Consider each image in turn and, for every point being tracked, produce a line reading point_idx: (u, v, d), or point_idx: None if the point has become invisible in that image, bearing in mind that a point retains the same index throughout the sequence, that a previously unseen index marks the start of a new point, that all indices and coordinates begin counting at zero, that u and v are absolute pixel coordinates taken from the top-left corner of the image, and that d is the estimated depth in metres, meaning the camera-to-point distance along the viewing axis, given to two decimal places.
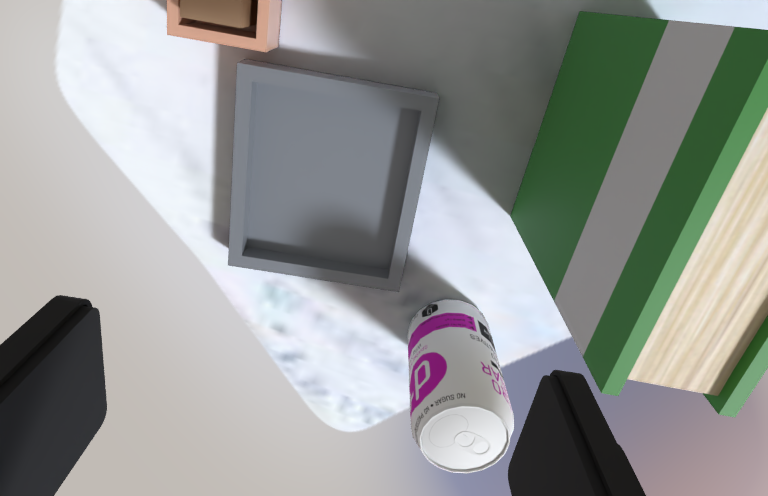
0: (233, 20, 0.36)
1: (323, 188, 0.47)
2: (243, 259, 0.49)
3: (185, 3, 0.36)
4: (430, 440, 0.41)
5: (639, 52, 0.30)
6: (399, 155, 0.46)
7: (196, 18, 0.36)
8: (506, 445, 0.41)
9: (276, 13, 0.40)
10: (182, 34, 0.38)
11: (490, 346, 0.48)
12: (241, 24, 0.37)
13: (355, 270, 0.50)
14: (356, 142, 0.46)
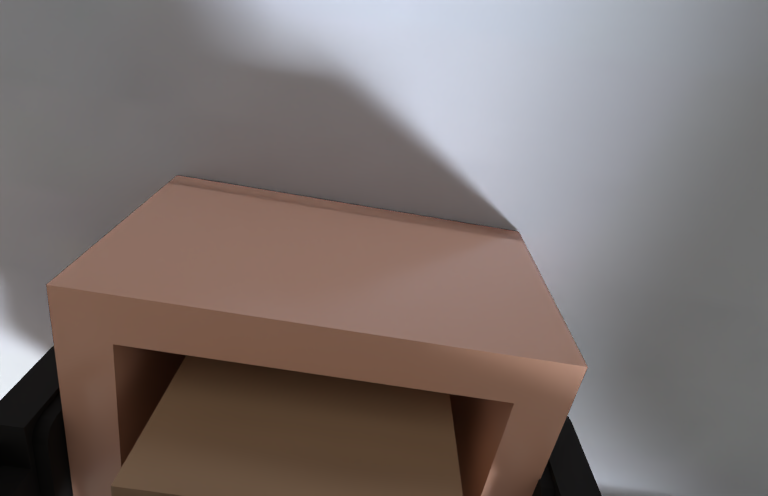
0: None
1: None
2: None
3: None
4: None
5: None
6: None
7: None
8: None
9: None
10: None
11: None
12: None
13: None
14: None
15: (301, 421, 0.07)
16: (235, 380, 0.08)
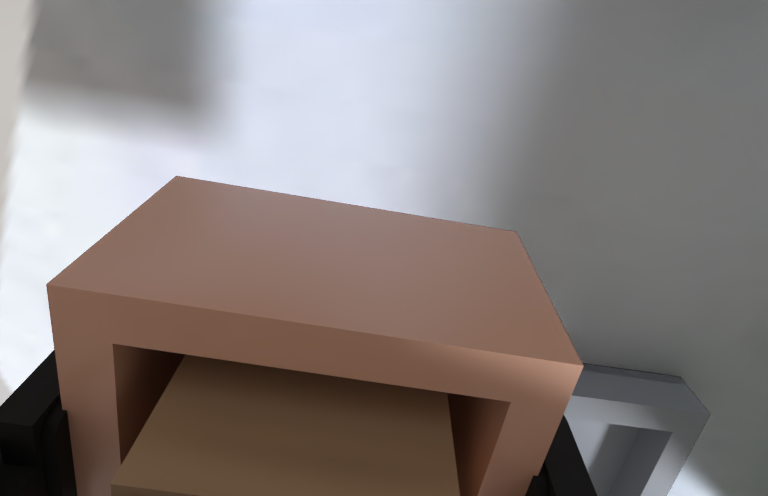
0: None
1: None
2: None
3: None
4: None
5: None
6: (600, 468, 0.26)
7: None
8: None
9: None
10: None
11: None
12: None
13: None
14: None
15: (299, 420, 0.07)
16: (234, 378, 0.08)
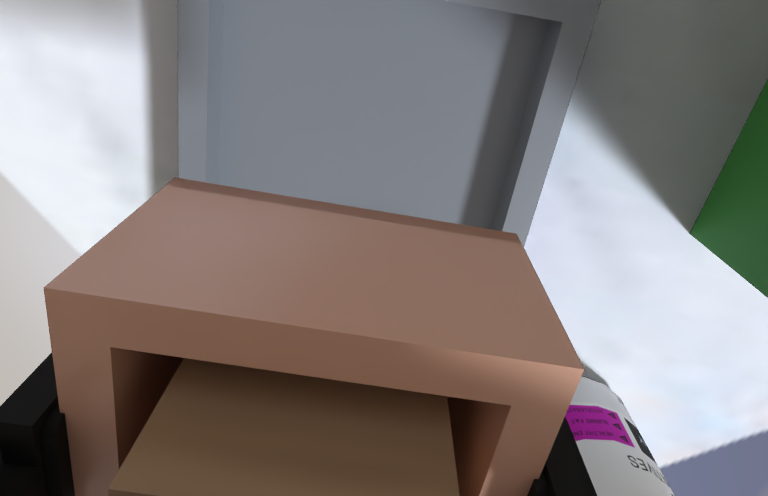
0: None
1: (352, 182, 0.26)
2: None
3: None
4: None
5: None
6: (499, 119, 0.24)
7: None
8: None
9: None
10: None
11: (662, 476, 0.26)
12: None
13: None
14: (419, 95, 0.24)
15: (298, 424, 0.07)
16: (232, 382, 0.08)
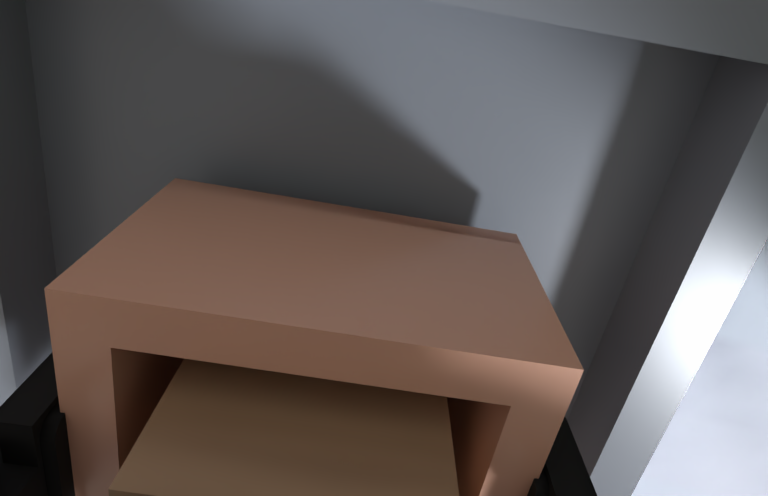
0: None
1: None
2: None
3: None
4: None
5: None
6: (596, 244, 0.12)
7: None
8: None
9: None
10: None
11: None
12: None
13: None
14: (440, 200, 0.12)
15: (298, 423, 0.07)
16: (232, 383, 0.08)
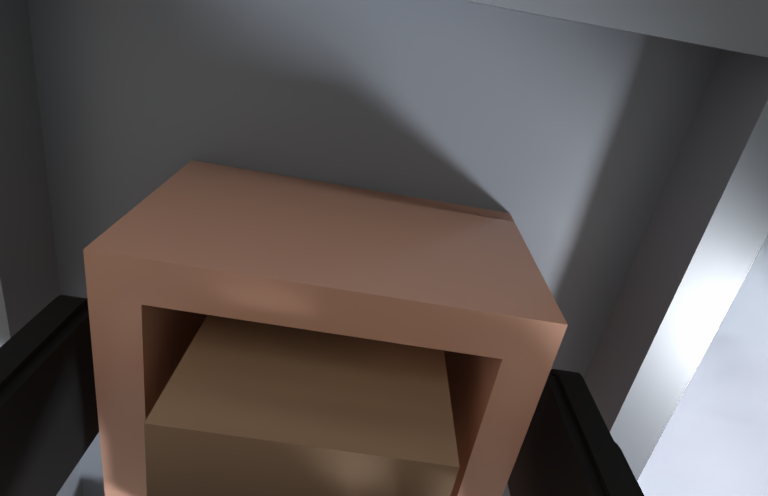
0: None
1: None
2: None
3: None
4: None
5: None
6: (597, 239, 0.12)
7: None
8: None
9: None
10: None
11: None
12: None
13: None
14: (442, 195, 0.12)
15: (310, 375, 0.08)
16: (250, 340, 0.09)
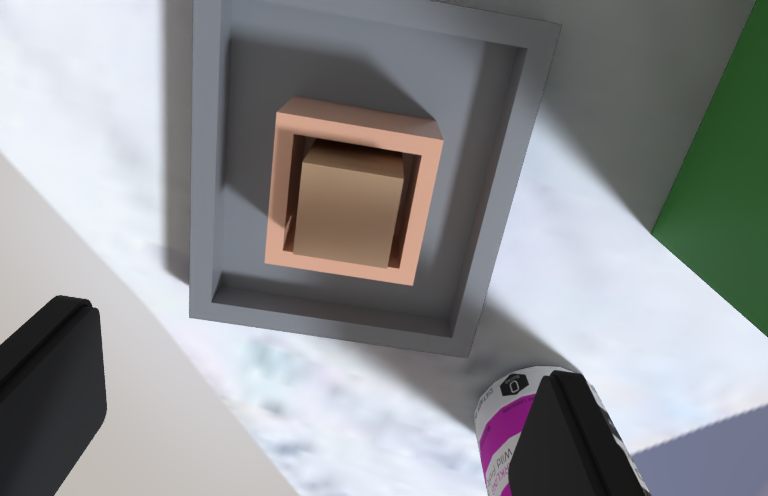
0: (376, 258, 0.23)
1: None
2: (213, 307, 0.29)
3: (303, 236, 0.23)
4: None
5: None
6: (476, 132, 0.27)
7: (318, 256, 0.23)
8: None
9: None
10: (287, 262, 0.25)
11: (628, 453, 0.28)
12: (387, 262, 0.24)
13: (397, 324, 0.30)
14: (405, 111, 0.27)
15: (352, 161, 0.23)
16: (329, 153, 0.23)
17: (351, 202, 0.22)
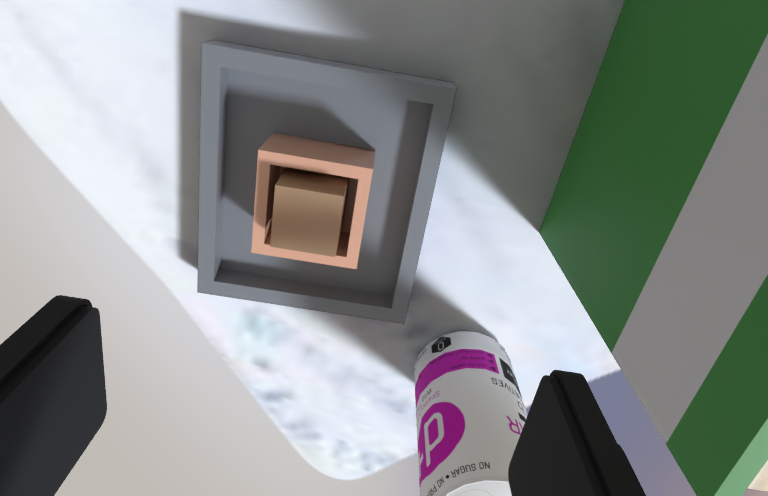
0: (327, 250, 0.34)
1: None
2: (215, 284, 0.40)
3: (277, 234, 0.33)
4: None
5: (743, 18, 0.22)
6: (405, 159, 0.37)
7: (287, 248, 0.34)
8: None
9: None
10: (267, 252, 0.36)
11: (516, 392, 0.39)
12: (335, 253, 0.34)
13: (351, 298, 0.41)
14: (353, 144, 0.37)
15: (310, 182, 0.33)
16: (295, 176, 0.34)
17: (308, 211, 0.33)
